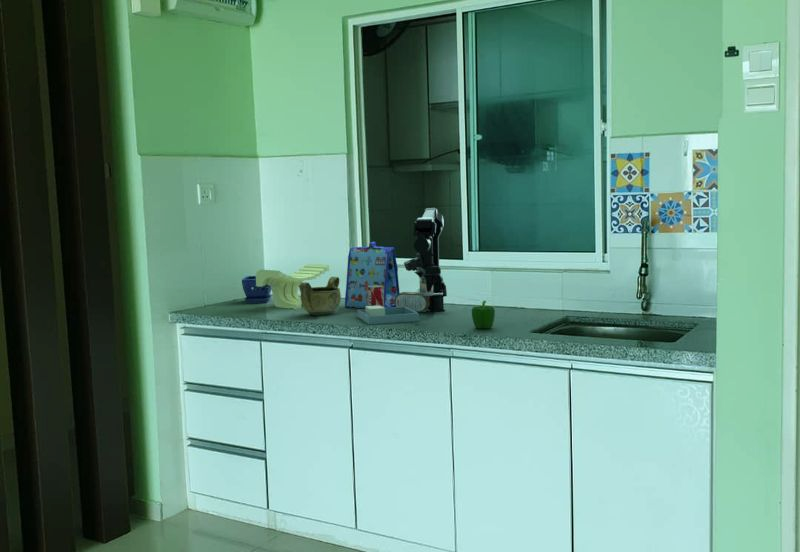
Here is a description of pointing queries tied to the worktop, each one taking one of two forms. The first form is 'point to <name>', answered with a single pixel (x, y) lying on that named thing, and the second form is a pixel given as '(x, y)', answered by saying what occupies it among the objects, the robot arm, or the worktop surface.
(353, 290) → the lunch bag
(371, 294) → the soda can
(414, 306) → the tin
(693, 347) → the worktop surface
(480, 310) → the bell pepper
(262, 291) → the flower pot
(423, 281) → the food can
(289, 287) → the slatted curved stool
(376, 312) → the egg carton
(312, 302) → the ceramic bowl
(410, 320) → the teal tray
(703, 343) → the worktop surface
